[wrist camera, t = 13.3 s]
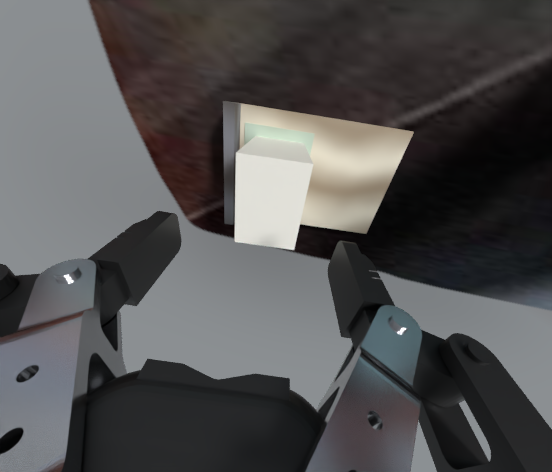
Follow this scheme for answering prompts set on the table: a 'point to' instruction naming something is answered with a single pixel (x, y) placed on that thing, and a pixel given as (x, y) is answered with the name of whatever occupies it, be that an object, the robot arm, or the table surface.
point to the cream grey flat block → (321, 161)
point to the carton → (270, 191)
